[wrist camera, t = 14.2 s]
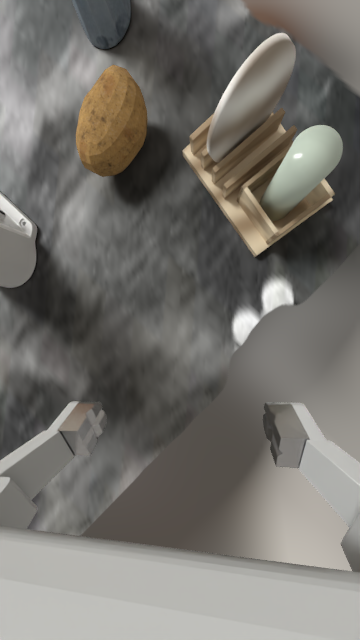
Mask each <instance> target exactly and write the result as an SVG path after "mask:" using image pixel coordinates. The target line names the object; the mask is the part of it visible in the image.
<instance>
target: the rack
mask: <svg viewBox="0 0 360 640" xmlns="http://www.w3.org/2000/svg"><path fill="white" fill-rule="evenodd" d="M295 57H296V50H295V46H294V44H293V43H292V41H291V40H290V38H289V37H288V35H286V34H284V33H279V34H275V35H273V36H271V37H270V38H268V39H267V40H265V41H264V42H263V43H262V44H261V45H260V46H258V47H257V48H256V49H255V50H254V52H253V53H252V54H251V55H250V56H249V57H248V58H247V59H246V61H245V62H244V63H243V64H242V66H241V67H240V69H239V70H238V71H237V73H236V74H235V76H234V77H233V79H232V80H231V82H230V84H229V85H228V87H227V89H226V90H225V92H224V94H223V96H222V98H221V100H220V102H219V104H218V106H217V108H216V111H215V113H214V114H213V115H212V116H211V117H209V118H208V119H207V120H206V121H205V122H204V123H203V124H202V125H201V126H200V127H199V128H198V129H197V130H196V131H195V132H194V133H192V134H191V135H190V144H189V145H188V146H187V147H186V148H185V149H184V150H183V156H184V158H185V159H186V161H187V162H188V163H189V165H190V166H191V168H192V169H193V171H194V172H195V173H196V175H197V176H198V178H199V179H200V180H201V182H202V183H203V185H204V186H205V188H206V189H207V190H208V192H209V193H210V195H211V196H212V197H213V199H214V200H215V202H216V203H217V204H218V206H219V207H220V209H221V210H222V212H223V213H224V214H225V216H226V217H227V219H228V220H229V221H230V223H231V224H232V226H233V227H234V228H235V230H236V231H237V233H238V234H239V236H240V237H241V238H242V240H243V241H244V243H245V244H246V245H247V247H248V248H249V250H250V251H251V252H252V254H253V255H254V257H255V256H257V255H258V254H260V253H261V252H262V251H264V250H265V249H266V248H268V247H269V246H271V245H272V244H273V243H275V242H276V241H277V240H279V239H280V238H281V237H283V236H284V235H286V234H287V233H288V232H290V231H291V230H292V229H294V228H295V227H296V226H298V225H299V224H301V223H302V222H303V221H305V220H306V219H307V218H309V217H310V216H311V215H313V214H314V213H316V212H317V211H318V210H320V209H321V208H322V207H324V206H325V205H326V204H328V203H329V202H330V201H332V200H333V199H332V198H331V197H332V196H333V195H335V193H334V192H333V190H332V189H331V187H330V186H329V184H328V183H327V181H326V180H325V179H323V180H322V181H321V182H320V183H319V184H318V185H317V186H316V187H315V188H314V189H313V190H312V191H311V192H310V193H309V194H308V195H307V196H306V197H305V198H304V199H303V200H302V201H301V202H300V203H299V204H298V205H297V206H296V207H295V208H294V209H293V210H292V211H291V212H289V213H288V214H287V215H286V216H285V217H284V218H283V219H281V220H278V221H271V220H270V219H269V217H268V216H267V214H266V213H265V212H264V210H263V209H262V207H261V206H260V205H259V203H260V200H261V197H262V196H263V194H264V192H265V191H266V189H267V187H268V185H269V184H270V182H271V180H272V178H273V177H274V175H275V173H276V172H277V170H278V168H279V166H280V165H281V163H282V161H283V159H284V158H285V156H286V154H287V153H288V151H289V149H290V147H291V146H292V144H293V141H292V138H293V136H294V135H295V133H296V131H297V129H296V127H295V126H294V125H293V126H292V127H291V128H290V129H289V130H288V131H285V129H284V128H283V127H282V125H281V124H280V123H281V121H282V118H283V116H284V114H285V111H284V110H283V108H281V109H280V110H279V111H277V112H276V113H275V114H274V113H273V110H274V109H275V107H276V105H277V103H278V102H279V100H280V98H281V96H282V94H283V92H284V90H285V88H286V86H287V84H288V81H289V79H290V76H291V73H292V70H293V67H294V63H295Z"/></svg>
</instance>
